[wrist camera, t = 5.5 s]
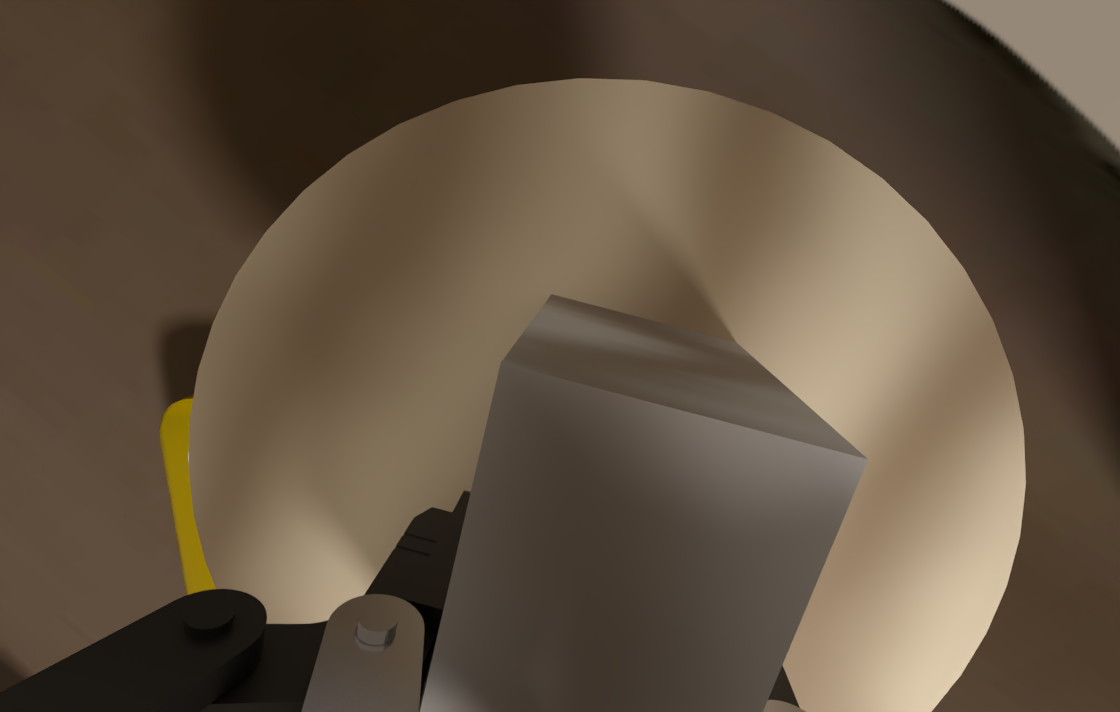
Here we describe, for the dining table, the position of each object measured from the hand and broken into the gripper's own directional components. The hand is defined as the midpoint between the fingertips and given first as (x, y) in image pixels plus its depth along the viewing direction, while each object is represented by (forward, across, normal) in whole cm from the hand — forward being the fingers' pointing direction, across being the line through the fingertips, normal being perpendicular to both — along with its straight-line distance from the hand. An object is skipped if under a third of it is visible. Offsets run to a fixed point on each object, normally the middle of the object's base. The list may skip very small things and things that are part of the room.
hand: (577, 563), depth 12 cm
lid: (+2, 0, 0) cm, 2 cm away
